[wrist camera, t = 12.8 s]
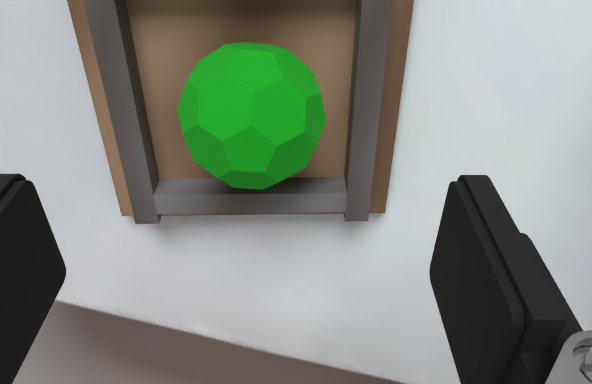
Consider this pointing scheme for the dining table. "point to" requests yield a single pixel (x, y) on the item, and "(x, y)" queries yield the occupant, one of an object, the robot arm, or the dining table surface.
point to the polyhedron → (251, 114)
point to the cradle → (208, 38)
